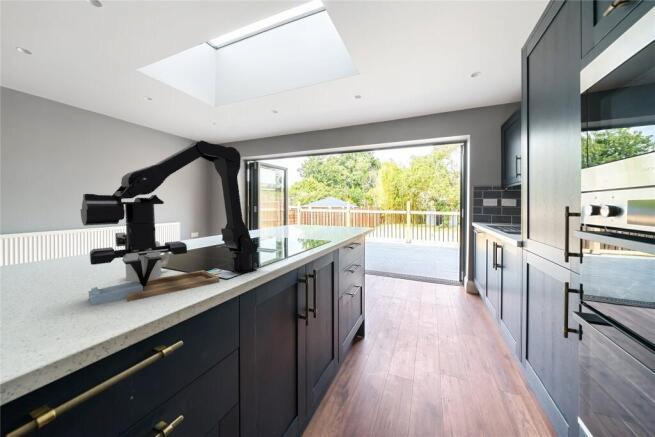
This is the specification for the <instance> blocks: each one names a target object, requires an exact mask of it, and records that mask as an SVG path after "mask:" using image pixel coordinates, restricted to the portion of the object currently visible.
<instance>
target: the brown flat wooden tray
mask: <svg viewBox="0 0 655 437" xmlns="http://www.w3.org/2000/svg"><path fill="white" fill-rule="evenodd" d="M138 282H139V281H138ZM139 283H140V282H139ZM218 283H220V277H219V276H216V275H214V274H212V273H210V272H208V271H206V270H205V269H204V270H197V271H191V272H185V273H180V274H174V275H168V276H167V275H166V276H163V277H161V276H160V277H158V278H155V279H150V280H148V282H147V284H146V286H144V287H143V291H142V292H137V293H132V294H127V295H126V296H127V298H125V300H126V301H127V302H133V301H138V300H143V299H149V298H152V297H157V296H163V295H166V294H171V293H174V292H176V293H177V292H181V291H184V290H188V289H194V288H199V287H204V286H208V285H212V284H218Z"/></svg>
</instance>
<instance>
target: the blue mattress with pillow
mask: <svg viewBox="0 0 655 437" xmlns="http://www.w3.org/2000/svg"><path fill="white" fill-rule="evenodd" d="M142 291H143V287H142V285H141V284H140V283H139V282H138V281H134V282H132V281H128V282H124V283H121V284H115V285H110V286H106V287H101V288H98V287H97V286H96V287H93V288H91V290H88V298H89V301H90V305H91V306H97V305H102V304H107V303H111V302H115V301H119V300H124V299H125V300H126V298H127V296H126V295H127V294H132V293H137V292H142Z"/></svg>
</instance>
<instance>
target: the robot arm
mask: <svg viewBox="0 0 655 437" xmlns="http://www.w3.org/2000/svg"><path fill="white" fill-rule="evenodd" d="M199 158H201V159H203V160H205V161H207V162H209V163H213V164H214V165H213V166H214V168H215V171H216V172H217V173H218V174H217V175H219V176H220V180H221V187H222V193H223V194H222V196H223V202H224V209H225V215H226V225H225V227H222V228H221V229H220V232H221V237H222V238H221V241H222V242H223V243H224V245H225V246H227V248H228V250H229V252H231V257H230V269H229V270H230V271H232V272H233V271H234V273H236V274H243V273H248V272H254V271H257V268H256V267H255V254H256V253H257V252H258V249H259V248H258V247H259V246H258V245H257V244H256V243H255V242H254V241H253V240H252V237H251V235H250V231H249V228H248V227H247V225H246V223H245V222H244V219H243V212H242V203H241V195H240V187H239V181H238V176H239V172H240V169H241V167H242V166H241V165H242V164H241V162H242V161H241V160H242V156H241V153H240V151H239V150H238V149H237V148H235V147H233V146H225V145H220V144H217V143H216V144H215V143H211V142H209V141H205V140H202V139H201V140H197V141H194V142H192V143H191V144H189V145H188V146H186V147H184V148H183V149H181V150H179V151H177V152H175V153H173V154H171V155H170V156H168V157H166V158H164V159H163V160H162V159H161V161H159V162H157V163H155V164H151V165H149V166H146V167H143V168H139V169H136V170H134V171H131V172H128V173H126V174H124V175H123V176H122V177H121V182H120V184H121V185H120V186H119V187H118V188H117V189H116V190H115V191H114V193H112V195H110V194H95V193H83V194H82V203H81V209H80V218H81V219H80V220H81V223H82V225H83V226H102V225H103V226H104V225H107V226H108V225H118V224H119V222H120V221H123V220H124V218H125V228H126V230H125V231H126V232H115V234H114V235H115V247H117V248H118V247H124V249H116V250H115V249H114V248H113V247H100V248H92V249H91V250H90V251H89V262H90V265H92V266H93V265H95V266H96V265H102V264H110V263H112V262H113V261H114V260H115V259H120V258H122V262H123V264H125V265H126V264H130V265H131V266H132V268H133V269H134V271H135V273H136V275H137V277H138V280H139V282H140V284H141V285H142V287H144V286H146V284H147V282H148V279H149V277H150V274H151V272H152V270H153V268H154V266H155V264H156V262H157V261H158V260H161V261H162V259H163V257H162V256H161V254H164V253H165V252H169V253H171V254H173V255H174V256H176V255H182V254H183V255H184V254H188V247H187V246H188V245H187V244H186V243H185V242H182V241H180V240H179V241H178V240H177V241H168V242H165V243H164V245H162V246H156V241H157V240H156V223H155V222H156V220H155V218H156V217H155V205H164V202H165V201H163V200H162V199H160V198H159V197H158V195H157V194H152V193H153V192H155V191H156V190H157V189H158V188H159V187H160V186H162V184H163V183H164V182H165V181H166V180H167V178H168V177H170V176H171V175H172V174H175V173H176V172H177V171H179V170H181V169H183V168H184V167H186V166H188V165H189V164H191V163H192V162H194V161H195V160H198V159H199ZM149 194H151V196H149V197H138V196H143V195H145V196H146V195H149ZM129 199H134V201H122V200H129ZM125 248H126V249H125ZM134 250H136V251H134ZM139 255H146V256H144V269H143V270H142V264H141V260H140V259H138V257H139Z"/></svg>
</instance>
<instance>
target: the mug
mask: <svg viewBox="0 0 655 437" xmlns="http://www.w3.org/2000/svg"><path fill="white" fill-rule="evenodd" d="M156 246H163V245H161V242H160V241H157V240H156ZM124 249H126V248H125V247H124ZM134 251H136V250H134ZM163 255H164V259H163V261H162V260H158V261H157V262H156V264H155V266H154V268H153V270H152V272H151V274H150V277H149V279H148V280H150V279H156V278H161V276H162V268H163V267H166V266H167V265H168V263H169V259H170V252H165V253H163ZM144 256H146V255H139V257H138V259H140V260H141V264H142V270H143V269H144ZM125 281H126V282H134V281H139V280H138V277H137V275H136V273H135V271H134V269H133V268H132V266H131V265H130V264H125Z"/></svg>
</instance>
